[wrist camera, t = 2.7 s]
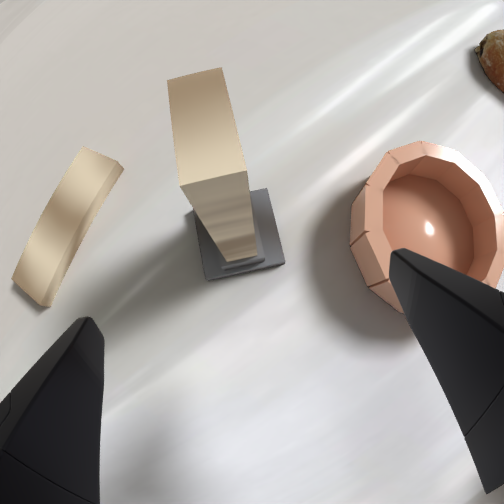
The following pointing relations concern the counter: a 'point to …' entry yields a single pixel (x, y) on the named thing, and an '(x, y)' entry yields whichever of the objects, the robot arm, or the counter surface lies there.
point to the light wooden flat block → (65, 224)
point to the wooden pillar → (219, 179)
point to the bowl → (427, 216)
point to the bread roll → (493, 57)
